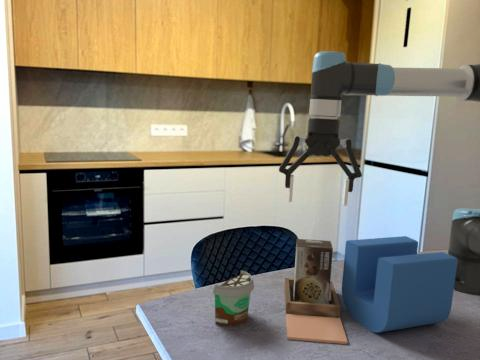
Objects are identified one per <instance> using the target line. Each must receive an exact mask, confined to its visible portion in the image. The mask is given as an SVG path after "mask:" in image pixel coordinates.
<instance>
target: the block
mask: <svg viewBox="0 0 480 360" xmlns="http://www.w3.org/2000/svg"><path fill="white" fill-rule="evenodd" d="M418 248H419V242H418V240H415V239H414V238H411V237H409V236H406V235H402V236H391V237H390V236H389V237H379V238H378V237H377V238H374V237H373V238H365V239H349V240H345V249H344V259H343V271H342V280H341V294H342V295H341V296H342V302H343V304H344V306H345V309H346V311H347V313H348V314H349V315H350V316H351V317H352V318H353V319H355V320H356V321H357V322H358V323H360V324H361V325H362V326H364V327H365V328H366V329H368V330H369V332H372V333H377V334H378V333H384V332H388V331H389V332H390V331H391V332H392V331H395V330H396V331H397V330H402V329H409V328H413V327H421V326H427V325H428V326H429V325H432V324H434V325H435V324H439V323H442V322H444V321H446V320H447V319H448V318H449V316H450V313H451V311H452V305H453V303H452V302H453V299H454V298H453V297H454V290H455V289H454V283H455V276H456V269H457V262H458V260H457V258H456V257H453V256H451V255H449V254H448V253H446V252H444V251H436V252H429V253H427V252H426V253H418Z"/></svg>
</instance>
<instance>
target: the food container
mask: <svg viewBox="0 0 480 360" xmlns="http://www.w3.org/2000/svg"><path fill="white" fill-rule="evenodd" d="M254 288H255V284H254V279H253V276H252V275H251V274H250V273H248V272H247V271H244V270H242V269H241V270H240V274H238V275H236V276H235V277H232V278H231V277H230V278H229V279H228V280H226V281H224V282H223V283H222V284H220V285H219V284H214V287H213V291H212V294H213V295H214V316H215V317H214V319H215V320H214V322H215V325H217V326H222V327H236V326H240V325H243V324H244V323H246V322H247V320H248V315H249V307H250V300H251V293H252V291H253V290H254Z"/></svg>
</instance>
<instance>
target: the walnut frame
mask: <svg viewBox="0 0 480 360" xmlns="http://www.w3.org/2000/svg"><path fill="white" fill-rule="evenodd" d="M293 289H294V277H293V278H292V277H284V283H283V290H284V305H285V307H284V308H285V315H286V314H295V315H308V316H321V317H334V318H340V319H341V317H340V316H341V304H340V302H339V298H338V295H337V292H336V289H335V285H334V282H333V280H330V294H329V302H330V303H329V304H320V303H306V302H293V300H292V301H291V291H293Z"/></svg>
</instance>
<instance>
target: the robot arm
mask: <svg viewBox="0 0 480 360" xmlns="http://www.w3.org/2000/svg"><path fill="white" fill-rule="evenodd" d="M343 96H345V97H346V96H347V97H348V96H375V97H378V96H381V97H382V96H389V97H391V96H393V97H394V96H395V97H454V98H456V99H457V100H458V101H469V102H476V103H477V102H478V103H480V63H479V64H463V65H461V66H460V67H459V68H452V67H450V68H448V67H447V68H445V67H393V66H391V64H384V63H383V64H382V63H380V62H379V63H372V62H371V63H369V62H368V63H366V62H351V61H347V59H346V54H345V53H344V52H341V51H330V50H329V51H328V50H326V51H325V50H324V51H318V52H316V53H315V55H314V57H313V62H312V70H311V85H310V100H309V110H308V111H309V112H308V115H309V116H311V117H309V118H308V123H307V124H308V125H307V133H306V134H307V135H306V136H305V137H304V136H303V137H302V136H299V135H294V139H293V144H292V145H291V147H290V149H289V151H288V152H287V154H286V155H285V158H284V159H283V161H282V162H281V164H280V166H279V168H278V171H279V173H281V174H283V175H285V179H284V187H285V188H286V189H288V203H292V202H293V190H294V178H295V177H294V174H293V173H294V172H295V170H297V169H298V168H299V167H300V166H301V165H302V164H303V163H304V162H305V161H306V160H307V159H308V158H309V157H310V156H311V155H314V156H316V157H319V156H323V157H330V156H332V157H333V159H334V160H335V161H336V163H337V164H338V166H339V167H340V168H341V169H342V171H343V172H344V174H345V175H346V176H347V177H344V182H343V191H342V201H341V202H342V205H343V206H346V207H347V206H348V198H349V193H352V192H353V189H354V181H355V179H358V178H361V177H362V176H363V173H362V170H361V169H360V166H359V164H358V161H357V159H356V156H355V153H354V151H353V149H352V140H351V139H350V138H345V139H344V138H343V139H340V138H339V134H340V123H341V121H340V120H339V119H338V118H339V117H341V112H342V111H341V109H342V100H343V98H342V97H343ZM303 143H304V144H305V145H306V146H307V148H306V149H305V151H303V153H302V154H300V156H299V157H298V158H297V159H296V160H295V161H294V162H293V163H292V164H291V165H290V166H289V167H288V168H287V166H288V165H289V163H290V162H291V160H292V158H293V156H294V155H295V153H296V151H297V150H298V147H299V146H302V145H303ZM340 145H341V146H342V148H343V149H345V152H346V154H347V157H348V159H349V162H350V164H351V167H352V169H353V172H352V171H351V170H350V168H349V167H348V166H347V164H346V163H345V162H344V161H343V159H342V158H341V156H340V154H338V152H337V151H336V149H337V148H338V147H339V146H340ZM450 227H451V228H450V233H449V234H450V235H449V241H448V243H449V244H448V252H447V254H449V255H451V256H453V257H456V258H457V260H458V262H457V269H456V276H455V283H454V290H455V291H458V292H463V293H466V294H468V293H469V294H474V295H480V208H471V207H470V208H469V207H467V208H466V207H460V208H456V209H454V211H453V213H452V219H451V226H450Z"/></svg>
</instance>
